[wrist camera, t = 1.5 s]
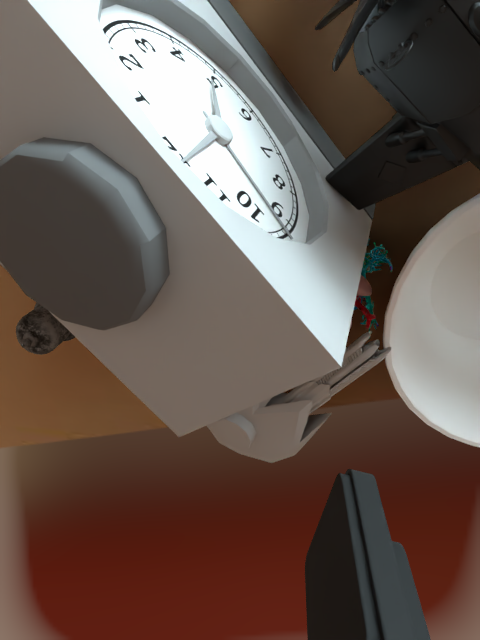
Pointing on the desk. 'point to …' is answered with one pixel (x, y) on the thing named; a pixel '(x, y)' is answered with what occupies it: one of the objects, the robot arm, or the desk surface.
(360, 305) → the anatomy model
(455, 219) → the bowl
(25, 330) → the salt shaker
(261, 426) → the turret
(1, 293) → the desk surface
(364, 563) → the robot arm
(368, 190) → the airplane toy
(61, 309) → the alarm clock
